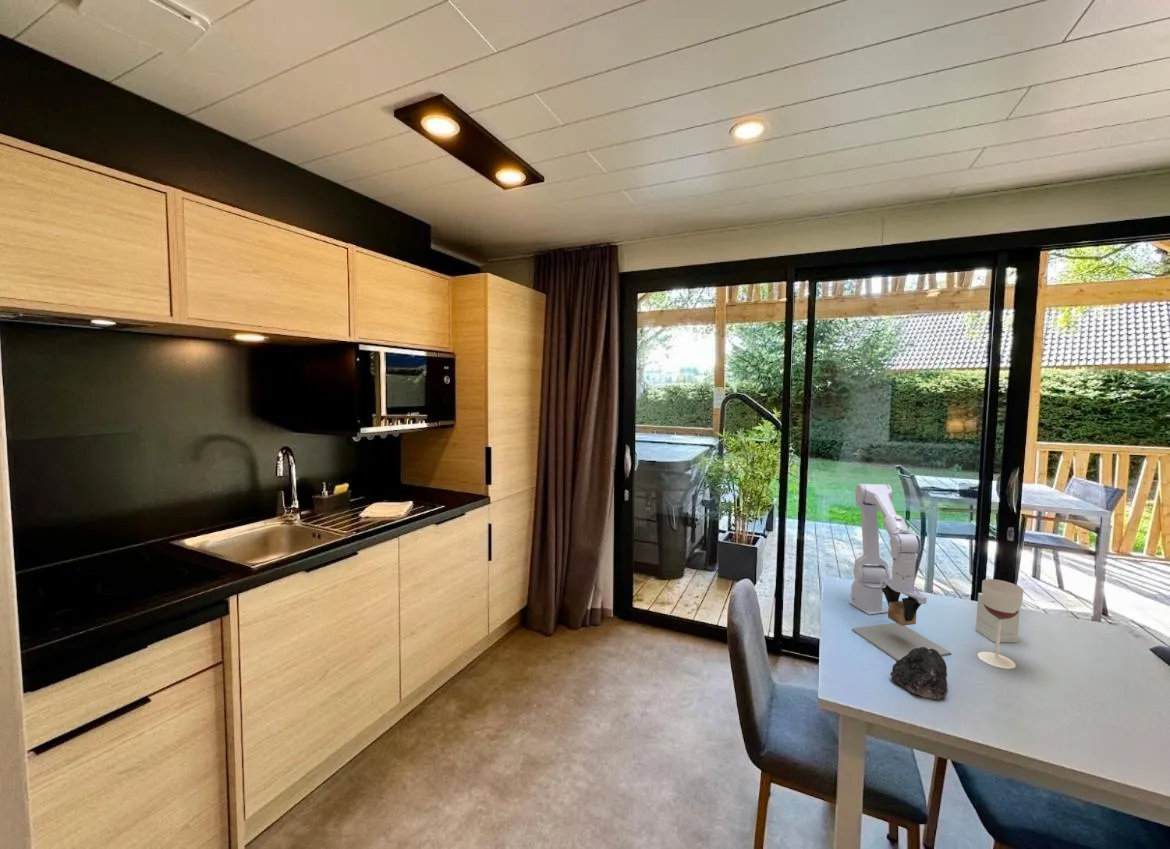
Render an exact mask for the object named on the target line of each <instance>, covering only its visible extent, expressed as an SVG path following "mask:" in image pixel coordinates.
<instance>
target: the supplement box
mask: <svg viewBox="0 0 1170 849" xmlns="http://www.w3.org/2000/svg"><path fill="white" fill-rule="evenodd" d="M1020 611H1021V609H1020V610H1019V612H1018V614H1017V615H1016V616H1015V617H1013V618H1009V619H1002V621H1001V633H1000V643H1018V639H1019V638H1018V637H1019V623H1020V622H1019V621H1020ZM975 620H976V621H975V622H976V623H975V631H976V632H977V633H979V634H980V635H982V636H984V637H985V638H986V639H988V640H990V641H991V642H993V643H996V634H997V622H998V618H997V617H995V616H993V615H992V614H991V613H990V612H988V611H987V609H986V608H985V606H984V603H983V600H982V592H978V593H977V604H976V619H975Z"/></svg>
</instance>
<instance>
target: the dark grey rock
mask: <svg viewBox="0 0 1170 849" xmlns="http://www.w3.org/2000/svg"><path fill="white" fill-rule="evenodd" d="M947 669H948V668H947V663H946V661H945V659H944V657H943V656H941V655H940V654H939V653H938V651H937V650H934V649H927V648H926V647H920V648H914V649H913V650H911V651H910V652H909V654H908V655H906V656H904V657H903V658H902V659H900V660H897V661H896V660H895V663H894V664H893V665H892V669H891V670H892V671H891V672H890V678H891V679H892V680H894V681H895V682H897V683H898V684H899V685H900V686H902V687H903V688H905V689H906V690H907V691H908V692H910V693H912V694H916V695H919V696H920V697H922V698H925V699H931V700H940V699H942V698H943V697H945V696H946V695H947V693H948V681H947V677H948V671H947Z"/></svg>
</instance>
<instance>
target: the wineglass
mask: <svg viewBox="0 0 1170 849" xmlns="http://www.w3.org/2000/svg"><path fill="white" fill-rule="evenodd" d="M981 593H982V600H983V603H984V606H985V608H986V609H987V611H988V612H990V613H991V614H992V615H993V616H995V617H997V618H998V622H997V634H996V642H995V646H994V647H995V648H994V652H991V651H981V652H978V653H977V657H978V658H979V659H980V660H981V661H982V662H984V663H985V664H989V665H991V666H993V667H996V668H997V667H998V668H1000V669H1007V670H1010V669H1012V670H1013V669H1015V668H1016V663H1015V661H1013V660H1011V659H1010V658H1008V657H1006V656H1005V655H1002V654H1000V643H1001V642H1000V633H1001V621H1002V619H1009V618H1013V617H1015V616H1016V615H1017V614H1018V612H1019V613H1020V611H1021V607H1022V603H1023V597H1024V589H1023V588H1022V587H1020V586H1019V585H1017V584H1014V583H1012V582H1009V581H1006V580H1001V579H996V578H995V579H994V578H986V579H982V582H981ZM1019 610H1020V611H1019Z"/></svg>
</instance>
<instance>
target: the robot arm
mask: <svg viewBox="0 0 1170 849" xmlns="http://www.w3.org/2000/svg"><path fill="white" fill-rule="evenodd" d="M854 494H855V504H856V506H857V507H859V508H860V512H861V513H860V514H861V534H862V536H861V537H862V555H861V556H859V557H857V558H856V559H855V560H854V567H853V577H854V579H855V580H854V581H853V582H852V584H851V592H850V594H851V595H850V600H849V601H848V603H849V604H850V605H853V606H854V607H856V608H858V609H859V611H860V610H861V612H864V613H866V614H867V615H870V616H871V615H878V614H885V613H888V609H886V608H884V607H883V596H884V597H885V599H886V601H887V602H886V603H887V606H888V608H889V602H895V601H900V600H899V599H900V596H901V594H902V595H904V596H906V597H903V598H901V601H903V604H904V617H905V621H912V620H913V617H914V615H915V613H916V611H917V612H918V609H919V608H920V607H921V605H925V604H926V605H927V599H928V597H927V596H925V595H924V594H922V593H921V592H919V590H917V589H916V586H915V578H916V560H917V554H920V553H921V550H922V543H921V539H920V537H919V535H918V534H916V533H914V531H911V530H910V528H909V526H908V525H907V523H906V521H905V519H904V517H903V516H901V515H899V514H897V512H896V509H895V507H894V504H893V502H892V499H893V494H894V493H893V489H892V486H891V485H890V484H889V483H888V484H887V483H886V484H885V483H884V484H881V483H879V484H878V483H858V485H856V487H855V493H854ZM878 511H879V512H880V514H881V515H882V517H883V518H884V519H883V522H882V525H883V526H884V528H885V530H886V532H887V535H889V538H890V539H889V546H890V549H891V550H890V554H891V556H892V565H891V566H892V568H891V569H892V570H891V573H890V570H889V564H888V562H887V561H886V560H884V559H883V558H882V557H880V542H879V540H880V539H879V538H880V537H879V525H878V524H879V523H878V521H879V520H878ZM916 614H917V613H916Z"/></svg>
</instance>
